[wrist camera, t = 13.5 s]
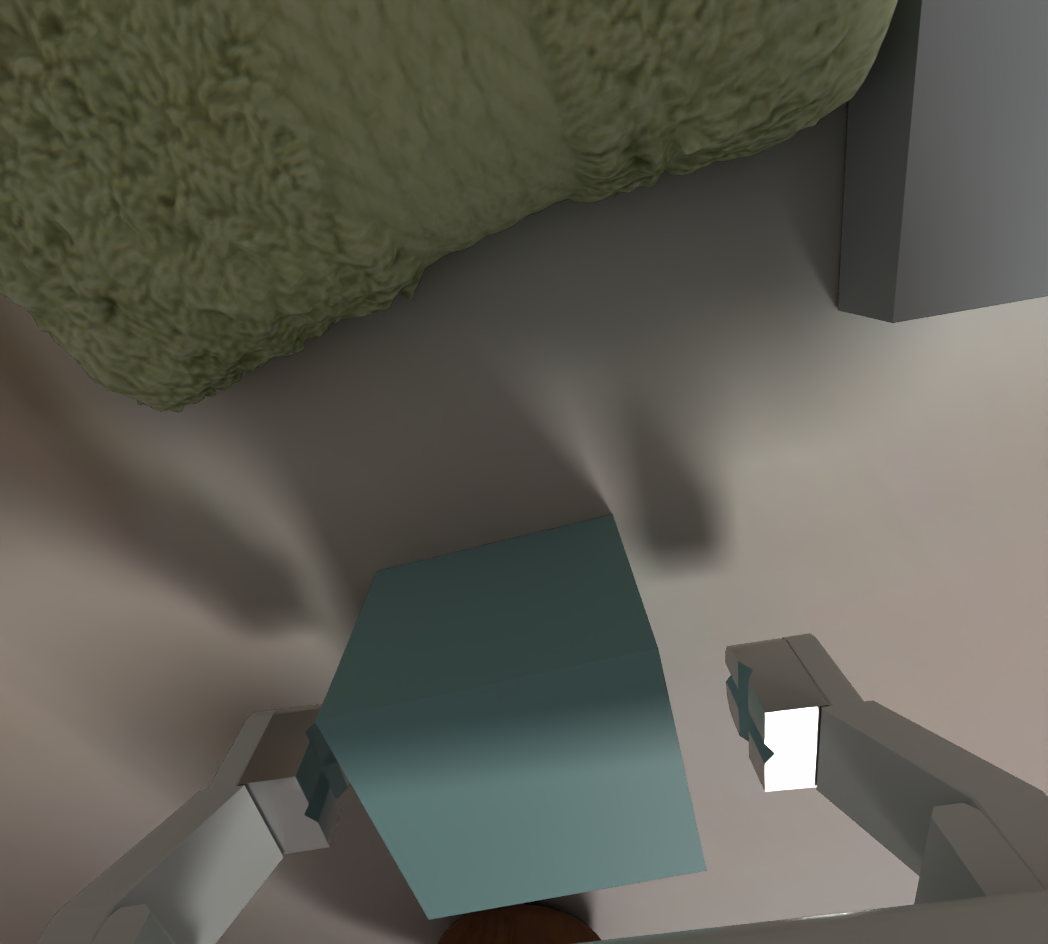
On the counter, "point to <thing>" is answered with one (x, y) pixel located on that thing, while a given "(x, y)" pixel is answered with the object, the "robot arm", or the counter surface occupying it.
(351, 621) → the counter surface
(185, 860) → the robot arm
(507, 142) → the washcloth
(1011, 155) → the baseplate
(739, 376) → the counter surface
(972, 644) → the counter surface
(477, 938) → the wooden figurine
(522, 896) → the brick
